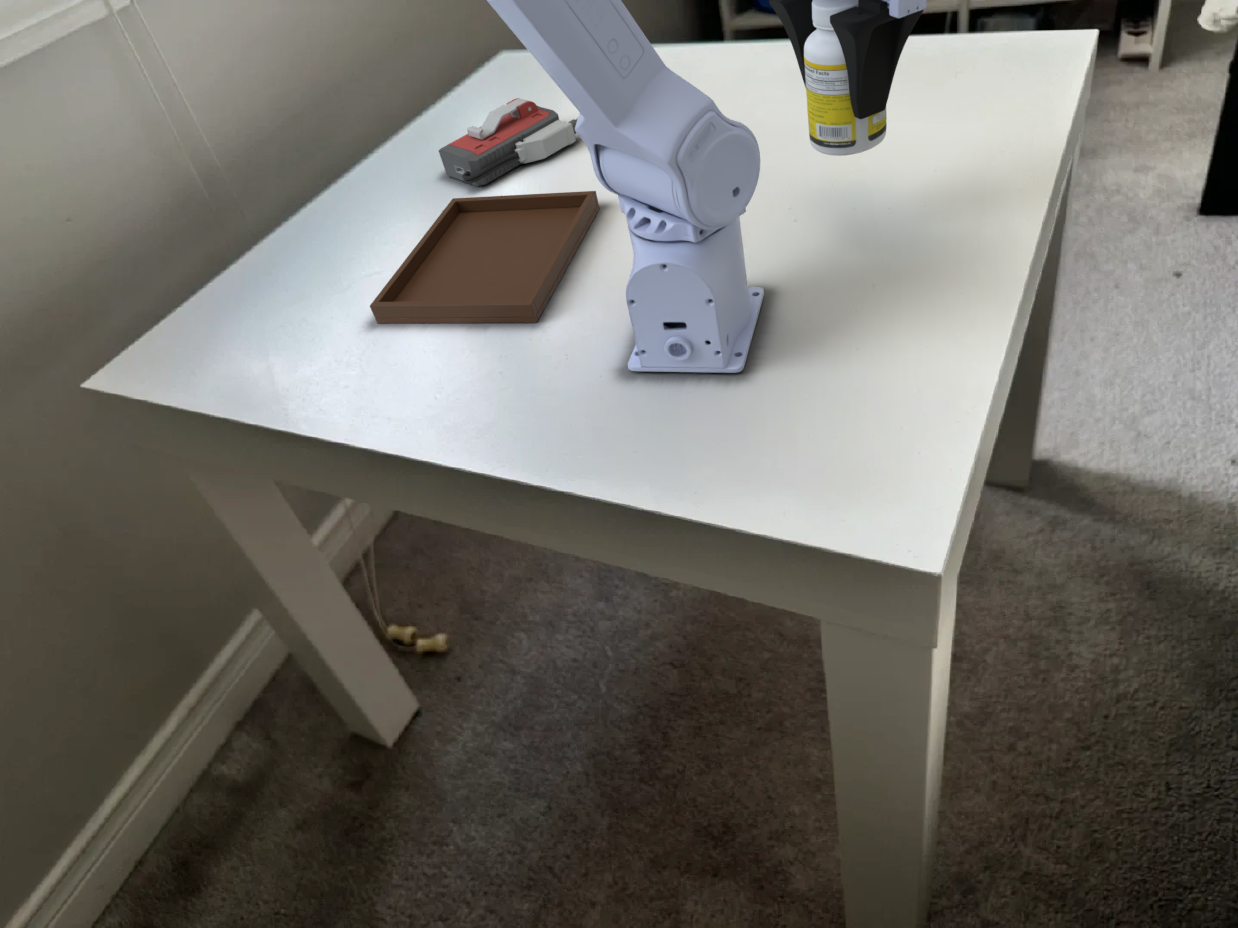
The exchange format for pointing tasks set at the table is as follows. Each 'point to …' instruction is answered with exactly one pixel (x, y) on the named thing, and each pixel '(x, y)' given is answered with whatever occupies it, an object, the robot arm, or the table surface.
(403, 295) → the tray
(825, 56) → the supplement bottle
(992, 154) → the table surface
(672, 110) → the robot arm
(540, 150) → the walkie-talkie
